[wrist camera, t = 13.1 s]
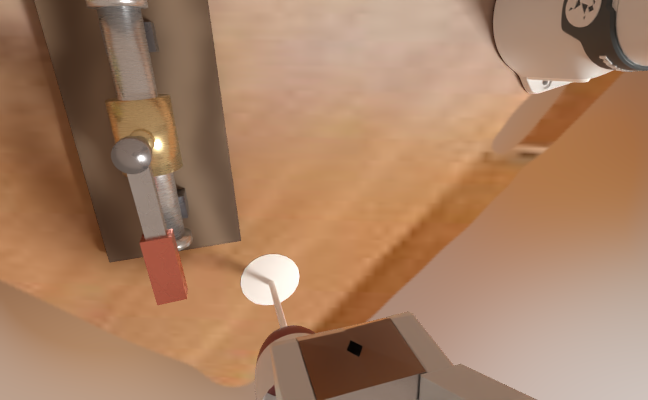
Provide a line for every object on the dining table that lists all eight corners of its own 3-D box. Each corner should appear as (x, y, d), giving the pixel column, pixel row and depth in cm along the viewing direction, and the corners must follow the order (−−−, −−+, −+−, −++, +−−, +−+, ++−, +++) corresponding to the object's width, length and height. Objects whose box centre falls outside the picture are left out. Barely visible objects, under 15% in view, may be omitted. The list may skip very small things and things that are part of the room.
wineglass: (287, 240, 49) (335, 352, 31) (310, 292, 53) (364, 419, 35) (227, 266, 48) (240, 398, 30) (254, 318, 52) (281, 462, 34)
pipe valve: (156, 1, 35) (145, -10, 28) (197, 223, 43) (196, 255, 37) (92, 2, 34) (65, -9, 27) (147, 230, 42) (136, 265, 35)
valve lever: (117, 130, 31) (106, 141, 27) (152, 126, 31) (146, 136, 28) (160, 283, 36) (155, 309, 33) (189, 277, 37) (187, 302, 33)
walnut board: (202, -35, 36) (202, -38, 35) (240, 235, 47) (241, 240, 46) (30, -35, 33) (23, -38, 32) (112, 255, 44) (109, 262, 42)
